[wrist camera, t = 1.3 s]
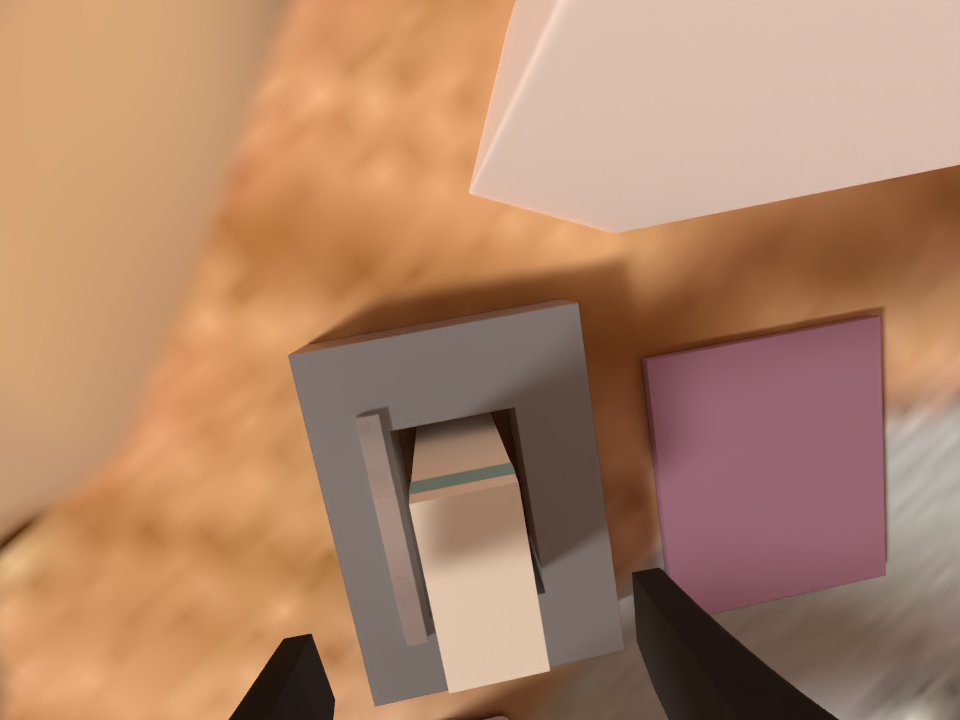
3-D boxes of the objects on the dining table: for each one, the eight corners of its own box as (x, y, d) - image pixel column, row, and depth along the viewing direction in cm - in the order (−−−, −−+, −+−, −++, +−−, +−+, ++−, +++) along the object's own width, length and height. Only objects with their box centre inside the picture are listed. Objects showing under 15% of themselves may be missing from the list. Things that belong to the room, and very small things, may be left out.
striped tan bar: (513, 544, 22) (550, 671, 15) (443, 558, 22) (448, 694, 15) (490, 410, 21) (519, 481, 14) (416, 425, 20) (407, 503, 14)
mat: (876, 568, 24) (885, 575, 23) (670, 614, 23) (675, 622, 22) (870, 315, 21) (880, 316, 21) (641, 358, 21) (646, 360, 20)
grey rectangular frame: (603, 609, 23) (627, 656, 20) (381, 657, 22) (374, 713, 19) (560, 298, 20) (580, 303, 17) (306, 344, 19) (285, 356, 17)
